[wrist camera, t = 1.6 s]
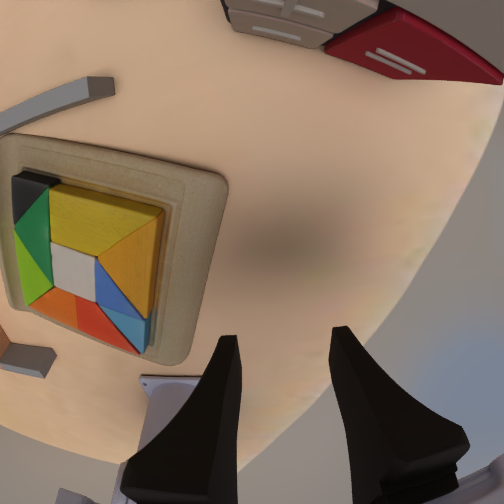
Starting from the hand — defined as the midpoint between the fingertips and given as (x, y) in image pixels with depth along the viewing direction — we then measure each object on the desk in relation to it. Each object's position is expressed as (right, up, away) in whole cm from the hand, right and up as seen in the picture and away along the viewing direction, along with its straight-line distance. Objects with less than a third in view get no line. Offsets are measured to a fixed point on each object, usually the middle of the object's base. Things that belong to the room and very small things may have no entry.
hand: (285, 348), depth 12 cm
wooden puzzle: (-14, +4, +10) cm, 18 cm away
